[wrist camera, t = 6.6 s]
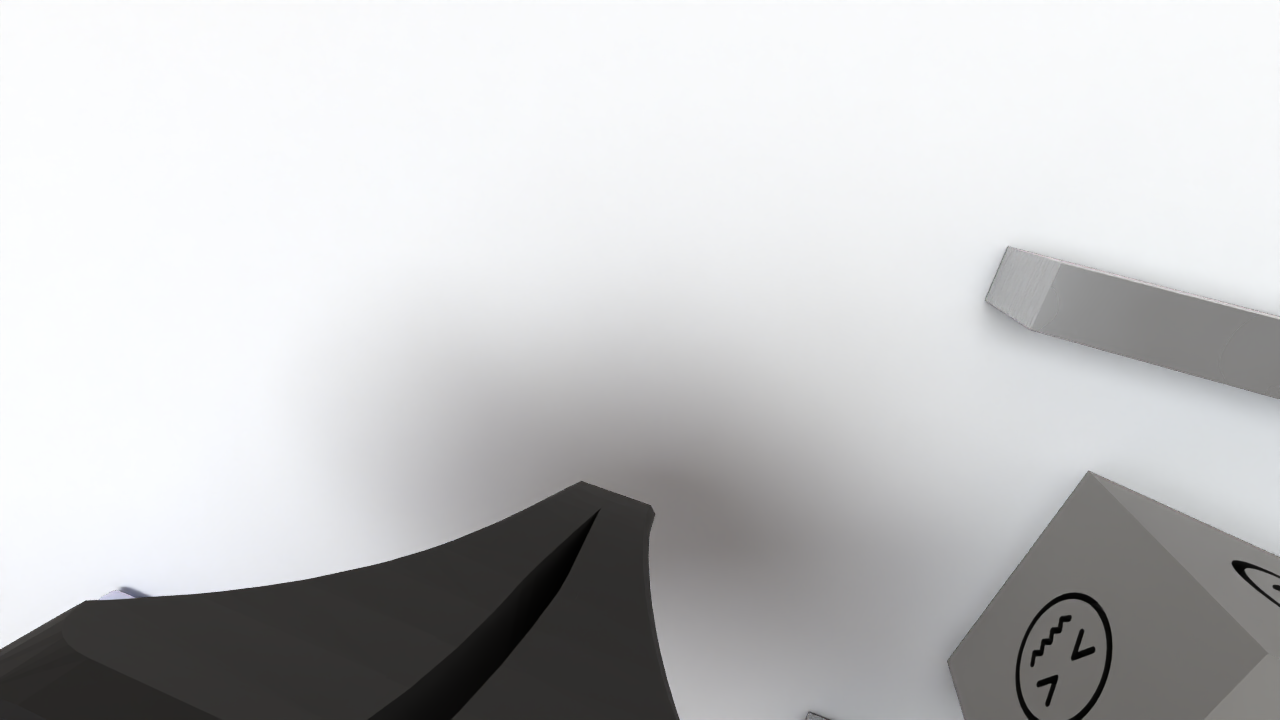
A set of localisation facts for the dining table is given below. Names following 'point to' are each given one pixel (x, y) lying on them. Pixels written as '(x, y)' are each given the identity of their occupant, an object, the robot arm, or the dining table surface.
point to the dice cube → (1127, 621)
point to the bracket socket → (1139, 322)
